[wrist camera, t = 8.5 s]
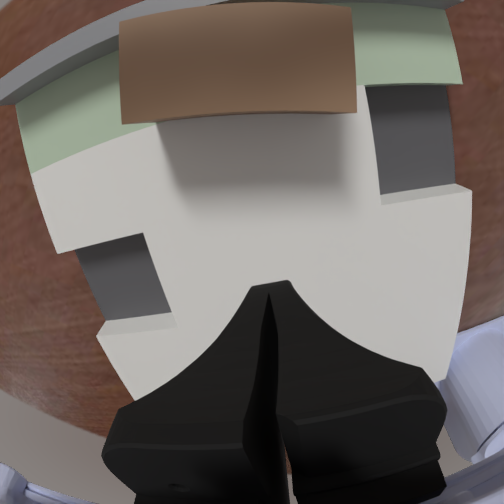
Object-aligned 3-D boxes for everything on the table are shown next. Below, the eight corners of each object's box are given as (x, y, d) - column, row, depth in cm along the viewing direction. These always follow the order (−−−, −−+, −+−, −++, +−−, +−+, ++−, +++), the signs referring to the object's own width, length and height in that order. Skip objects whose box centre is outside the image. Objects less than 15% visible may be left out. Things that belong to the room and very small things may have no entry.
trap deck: (436, 362, 22) (455, 395, 18) (158, 410, 24) (148, 446, 20) (422, 0, 12) (457, -19, 8) (32, 86, 14) (-10, 86, 10)
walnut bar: (330, 114, 13) (357, 113, 9) (155, 122, 13) (121, 124, 10) (326, 34, 11) (350, 7, 8) (152, 43, 12) (119, 21, 8)
